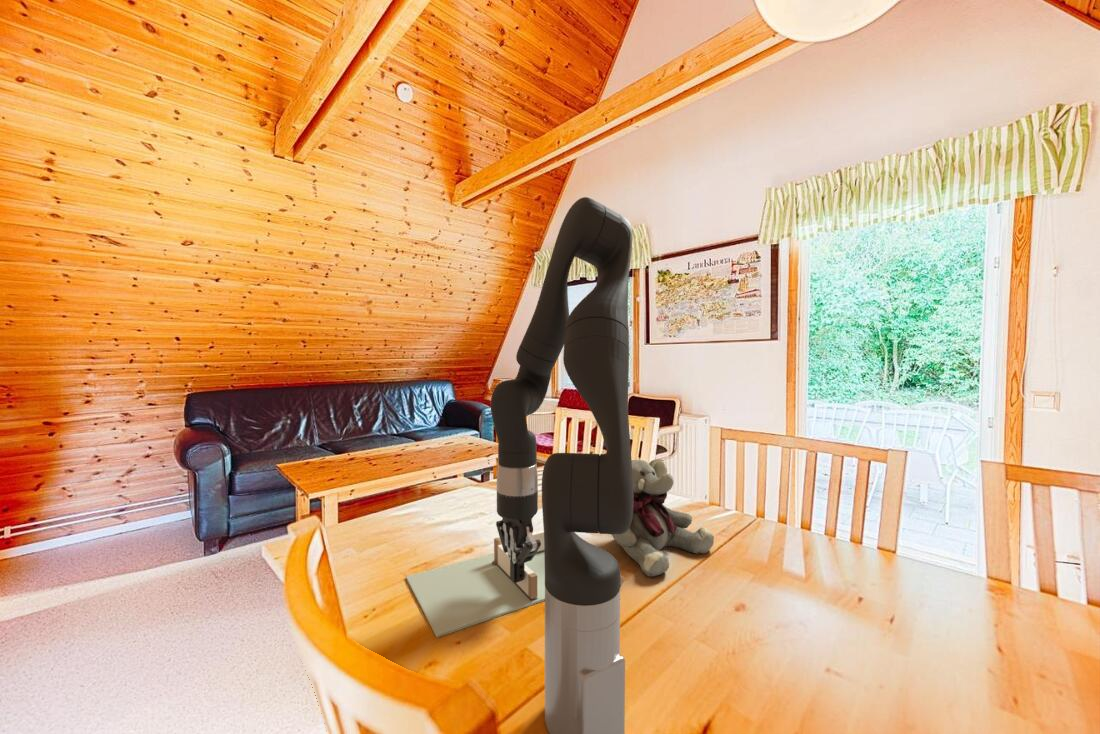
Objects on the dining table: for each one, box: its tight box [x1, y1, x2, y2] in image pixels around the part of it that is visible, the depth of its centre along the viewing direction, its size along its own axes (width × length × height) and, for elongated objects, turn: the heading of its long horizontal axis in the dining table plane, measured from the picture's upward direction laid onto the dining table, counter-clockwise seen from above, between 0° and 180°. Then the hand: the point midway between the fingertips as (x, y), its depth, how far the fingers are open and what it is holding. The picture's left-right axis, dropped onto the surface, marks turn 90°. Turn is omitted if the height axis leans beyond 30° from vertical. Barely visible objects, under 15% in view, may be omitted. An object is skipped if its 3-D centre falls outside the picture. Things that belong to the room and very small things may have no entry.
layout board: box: [405, 550, 545, 638], centre depth 88 cm, size 21×33×1 cm, turn 121°
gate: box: [498, 544, 537, 599], centre depth 86 cm, size 15×1×4 cm, turn 31°
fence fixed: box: [493, 529, 544, 564], centre depth 97 cm, size 2×16×6 cm, turn 121°
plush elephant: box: [611, 458, 715, 578], centre depth 103 cm, size 27×22×21 cm
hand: (517, 579), depth 82 cm, fingers closed
